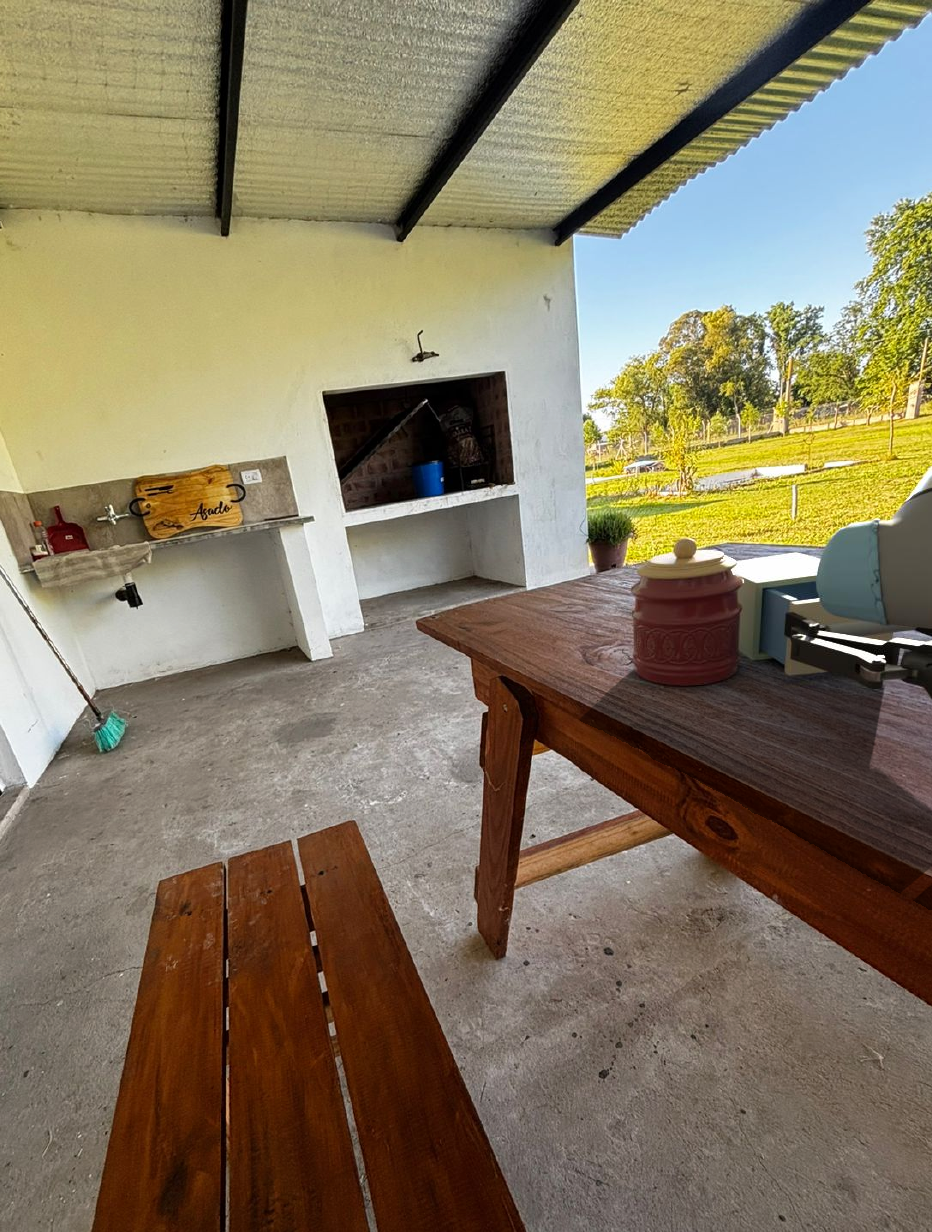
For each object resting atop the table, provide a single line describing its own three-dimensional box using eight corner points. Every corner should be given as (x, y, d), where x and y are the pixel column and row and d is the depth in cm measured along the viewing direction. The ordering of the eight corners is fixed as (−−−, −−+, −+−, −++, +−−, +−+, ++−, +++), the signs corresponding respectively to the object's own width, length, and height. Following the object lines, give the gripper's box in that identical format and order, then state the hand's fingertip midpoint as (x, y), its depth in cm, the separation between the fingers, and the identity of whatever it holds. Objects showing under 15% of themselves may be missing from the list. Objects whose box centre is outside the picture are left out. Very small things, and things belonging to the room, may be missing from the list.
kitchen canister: (761, 665, 69) (770, 527, 62) (694, 696, 64) (697, 550, 58) (675, 647, 80) (675, 528, 74) (612, 672, 75) (607, 548, 69)
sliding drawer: (921, 681, 56) (935, 601, 53) (812, 692, 58) (820, 615, 55) (821, 632, 73) (828, 569, 70) (740, 642, 75) (743, 581, 72)
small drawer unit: (849, 650, 68) (859, 569, 65) (752, 660, 70) (756, 583, 67) (790, 620, 82) (796, 552, 78) (710, 630, 84) (712, 564, 80)
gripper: (844, 749, 43) (731, 660, 63) (1196, 722, 38) (954, 635, 59) (855, 663, 40) (734, 599, 60) (1235, 624, 36) (967, 568, 56)
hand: (842, 617), depth 60 cm, fingers closed on sliding drawer, 10 cm apart
